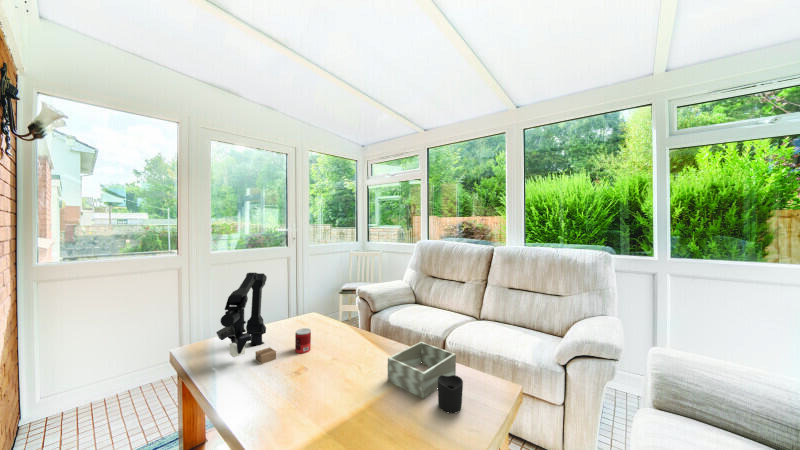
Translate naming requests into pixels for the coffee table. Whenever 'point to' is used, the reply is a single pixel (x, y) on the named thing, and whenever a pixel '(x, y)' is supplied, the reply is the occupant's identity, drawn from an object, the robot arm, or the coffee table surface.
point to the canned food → (303, 341)
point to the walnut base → (265, 355)
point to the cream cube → (235, 350)
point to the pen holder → (450, 393)
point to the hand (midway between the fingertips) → (237, 351)
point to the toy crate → (414, 378)
